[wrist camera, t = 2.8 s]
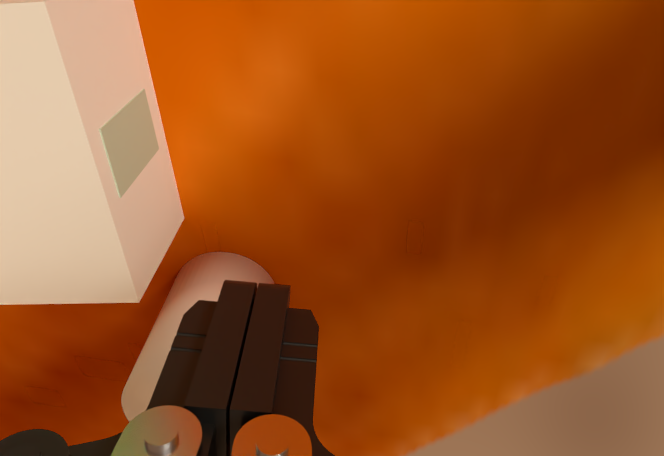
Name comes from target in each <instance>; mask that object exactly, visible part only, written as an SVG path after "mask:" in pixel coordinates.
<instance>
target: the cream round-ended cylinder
mask: <svg viewBox="0 0 664 456" xmlns="http://www.w3.org/2000/svg"><path fill="white" fill-rule="evenodd" d="M225 280H234V281H245V282H256V283H257V288H258V284H259V283H268V284H275V283H274V281H273V280H272V278H271V277H270V275H269V274H268V273H267V272H266V271H265V270H264V268H262V267H261V266H260V265H259V264H257V263H256V262H254V261H253V260H251V259H249V258H247V257H244V256H241V255H238V254H234V253H229V252H210V253H205V254H202V255H199V256H197V257H194V258H193V259H191V260H189V261H188V262H187V263H186V264H185V265H184V266H183V267H182V268H181V269H180V271H179V273H178V275H177V277H176V279H175V281H174V283H173V286H172V288H171V290H170V292H169V294H168V296H167V298H166V300H165V302H164V305H163V307H162V309H161V311H160V313H159V315H158V317H157V319H156V321H155V324H154V326H153V328H152V330H151V332H150V334H149V336H148V338H147V340H146V343H145V345H144V347H143V349H142V351H141V353H140V355H139V357H138V360H137V362H136V364H135V366H134V368H133V370H132V372H131V374H130V376H129V379H128V381H127V383H126V385H125V387H124V389H123V392H122V398H121V402H122V408H123V412H124V414H125V416H126V418H127V419H128V421H129V422H130V421H131V420H132V419H134V418H135V417H136V416H137V415H139V414H140V413H142V412H144V411H146V409H147V407H148V405H149V402H150V400H151V397H152V395H153V392H154V389H155V387H156V384H157V382H158V379H159V377H160V374H161V371H162V369H163V366H164V364H165V361H166V358H167V356H168V353H169V351H170V350H171V346H172V343H173V340H174V338H175V336H176V335H177V330H178V328H179V325H180V322H181V320H182V317H183V315H184V314H185V313H186V312H187V311H188V310H189V309H190V308H191V307H192V306H193V305H194V304H195V303H196V302H197V301H198V300H205V301H216V302H217V301H218V298H219V295H220V292H221V289H222V285H223V283H224V281H225Z"/></svg>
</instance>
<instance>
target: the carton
mask: <svg viewBox="0 0 664 456" xmlns="http://www.w3.org/2000/svg"><path fill="white" fill-rule="evenodd" d="M183 220H184V215H183V211H182V206H181V202H180V198H179V194H178V189H177V185H176V181H175V176H174V172H173V168H172V164H171V159H170V155H169V151H168V147H167V142H166V138H165V134H164V129H163V125H162V121H161V117H160V112H159V108H158V104H157V99H156V95H155V91H154V87H153V82H152V78H151V74H150V69H149V65H148V61H147V57H146V52H145V48H144V44H143V39H142V35H141V31H140V27H139V22H138V18H137V14H136V10H135V5H134V1H133V0H0V305H13V304H79V303H139V302H140V300H141V298H142V296H143V295H144V293H145V291H146V289H147V287H148V285H149V283H150V281H151V280H152V278H153V276H154V274H155V272H156V270H157V268H158V267H159V265H160V263H161V261H162V259H163V257H164V255H165V254H166V252H167V250H168V248H169V246H170V244H171V242H172V240H173V239H174V237H175V235H176V233H177V231H178V229H179V227H180V226H181V224H182V222H183Z"/></svg>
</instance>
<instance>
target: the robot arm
mask: <svg viewBox="0 0 664 456" xmlns="http://www.w3.org/2000/svg"><path fill="white" fill-rule="evenodd" d="M289 301H290V285H279V284H268V283H259V284H258V288H257V283H256V282H245V281H234V280H225V281H224V283H223V285H222V289H221V292H220V295H219V298H218V301H217V302H216V301H205V300H198V301H197V302H196V303H195V304H194V305H193V306H192V307H191V308H190V309H189V310H188V311H187V312H186V313H185V314H184V315H183V317H182V320H181V322H180V325H179V328H178V330H177V335H176V336H175V338H174V340H173V343H172V346H171V350H170V351H169V353H168V356H167V358H166V361H165V364H164V366H163V369H162V371H161V374H160V377H159V379H158V382H157V384H156V387H155V389H154V392H153V395H152V397H151V400H150V402H149V405H148V407H147V409H146V411H144V412H142V413H140V414H139V415H137V416H136V417H135V418H134V419H132V420H131V421H130V422H129V424H128V425H127V426H126V427H125V429H124V431H123V432H121V433H119V434H117V435H115V436H112V437H110V438H106V439H102V440H98V441H93V442H88V443H83V444H78V445H73V446H67V443H66V442H65V440H64V439H63V438H62V437H61V436H60V435H59V434H57V433H55V432H53V431H49V430H44V429H32V430H26V431H22V432H18V433H16V434H13V435H11V436H9V437H7V438H5V439H3V440H1V441H0V456H335V455H333V454H332V453H330V452H329V451H328V450H327V449H326V448H325V447H324V446H323V445H322V444H321V443H320V441H319V440H318V438H317V436H316V434H315V431H314V427H313V407H314V392H315V377H316V361H317V346H318V332H319V326H318V324H317V322H316V320H315V318H314V316H313V314H312V312H311V310H306V309H295V308H289Z"/></svg>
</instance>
